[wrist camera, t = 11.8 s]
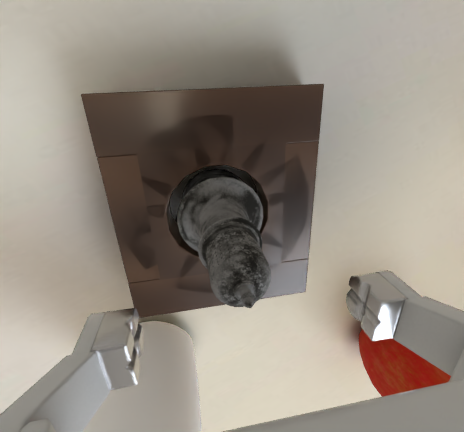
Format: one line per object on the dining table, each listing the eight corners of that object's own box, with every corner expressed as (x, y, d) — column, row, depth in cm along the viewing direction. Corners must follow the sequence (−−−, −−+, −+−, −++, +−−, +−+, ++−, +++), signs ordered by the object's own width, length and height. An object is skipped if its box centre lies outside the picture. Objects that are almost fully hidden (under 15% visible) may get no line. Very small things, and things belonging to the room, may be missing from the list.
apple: (375, 361, 33) (454, 468, 24) (331, 343, 31) (400, 455, 21) (422, 315, 31) (530, 411, 22) (380, 291, 29) (482, 389, 19)
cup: (173, 294, 24) (164, 516, 11) (210, 351, 28) (234, 567, 15) (87, 331, 24) (-20, 596, 11) (135, 383, 28) (95, 627, 15)
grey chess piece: (164, 216, 21) (146, 340, 10) (200, 150, 19) (223, 213, 9) (227, 244, 23) (269, 373, 12) (264, 186, 21) (349, 275, 11)
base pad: (96, 95, 17) (80, 93, 14) (303, 86, 19) (324, 83, 16) (142, 293, 23) (136, 318, 21) (292, 271, 25) (305, 292, 23)
